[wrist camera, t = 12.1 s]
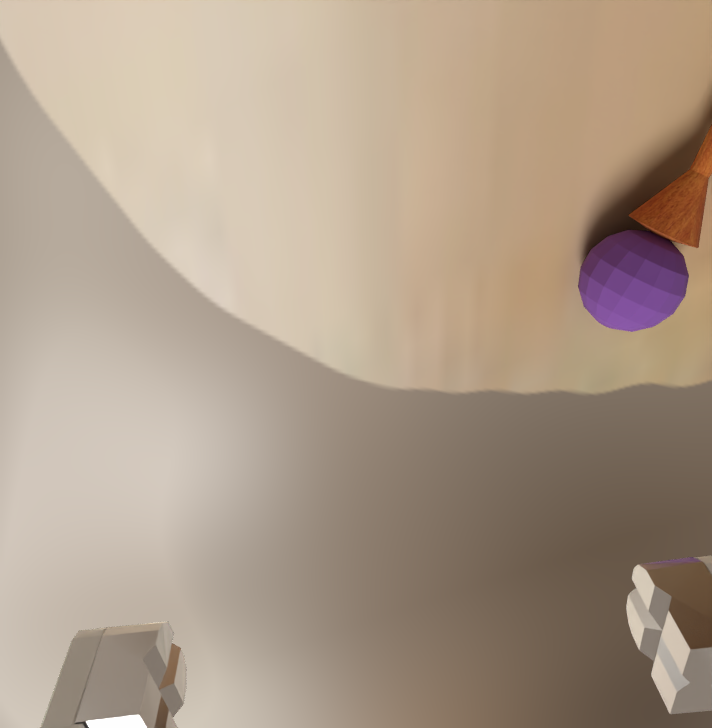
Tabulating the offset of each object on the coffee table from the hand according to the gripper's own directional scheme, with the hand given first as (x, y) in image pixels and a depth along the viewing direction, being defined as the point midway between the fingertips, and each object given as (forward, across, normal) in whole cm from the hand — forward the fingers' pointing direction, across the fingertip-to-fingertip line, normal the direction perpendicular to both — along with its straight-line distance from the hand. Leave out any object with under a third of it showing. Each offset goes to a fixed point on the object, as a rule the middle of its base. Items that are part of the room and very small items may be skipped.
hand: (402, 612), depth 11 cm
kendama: (+30, -20, +2) cm, 36 cm away
